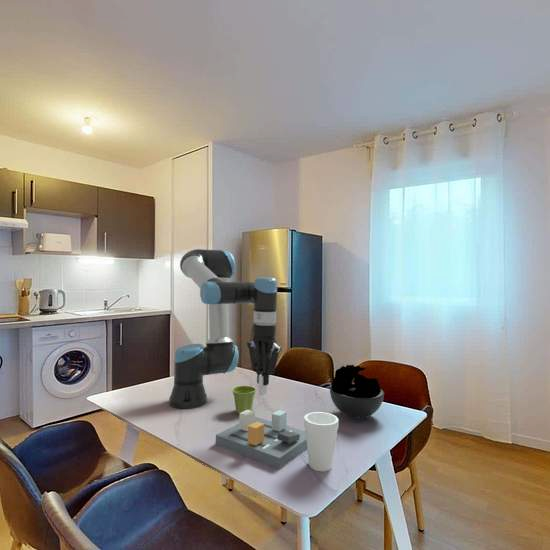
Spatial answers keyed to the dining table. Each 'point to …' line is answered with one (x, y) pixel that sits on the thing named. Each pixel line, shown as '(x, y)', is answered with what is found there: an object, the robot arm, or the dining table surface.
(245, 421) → the slider cream
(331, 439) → the foam cup
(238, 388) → the plant pot
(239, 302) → the robot arm
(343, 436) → the dining table surface
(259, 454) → the panel
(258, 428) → the slider orange
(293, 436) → the block
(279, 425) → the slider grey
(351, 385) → the bowl of black rocks
